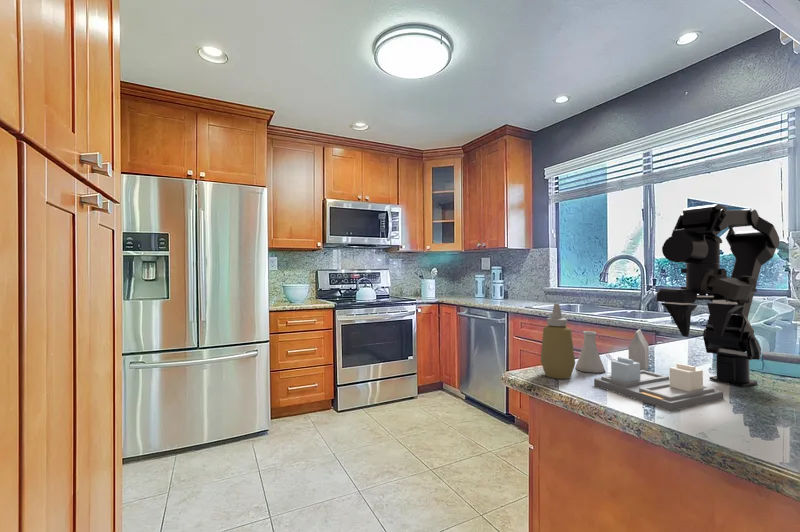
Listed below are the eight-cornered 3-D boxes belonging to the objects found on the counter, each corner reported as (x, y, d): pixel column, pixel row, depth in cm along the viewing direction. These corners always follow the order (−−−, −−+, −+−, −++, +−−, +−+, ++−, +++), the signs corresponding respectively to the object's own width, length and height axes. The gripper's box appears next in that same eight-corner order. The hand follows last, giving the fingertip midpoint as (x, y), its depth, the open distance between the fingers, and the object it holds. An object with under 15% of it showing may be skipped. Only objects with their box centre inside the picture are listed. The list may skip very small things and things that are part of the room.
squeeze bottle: (533, 375, 95) (532, 303, 95) (552, 370, 100) (551, 301, 100) (564, 383, 88) (563, 306, 89) (582, 376, 93) (581, 304, 93)
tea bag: (648, 366, 102) (648, 329, 102) (645, 372, 97) (644, 333, 97) (633, 364, 104) (632, 328, 104) (628, 369, 99) (628, 331, 99)
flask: (598, 366, 103) (598, 329, 103) (610, 374, 95) (610, 334, 96) (571, 366, 103) (570, 329, 103) (581, 373, 96) (580, 334, 96)
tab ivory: (682, 384, 81) (681, 361, 81) (703, 389, 77) (702, 366, 77) (669, 386, 80) (669, 363, 80) (690, 392, 76) (690, 368, 76)
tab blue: (623, 376, 87) (623, 355, 87) (640, 381, 83) (640, 359, 84) (611, 378, 86) (611, 357, 86) (627, 383, 82) (627, 361, 82)
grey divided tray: (642, 377, 92) (642, 368, 92) (723, 399, 77) (723, 388, 77) (594, 385, 86) (594, 376, 86) (671, 411, 71) (671, 399, 71)
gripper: (706, 261, 72) (706, 344, 71) (779, 264, 76) (779, 341, 76) (654, 263, 83) (654, 334, 82) (720, 265, 87) (720, 333, 87)
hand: (702, 336), depth 81 cm, fingers open, 9 cm apart
